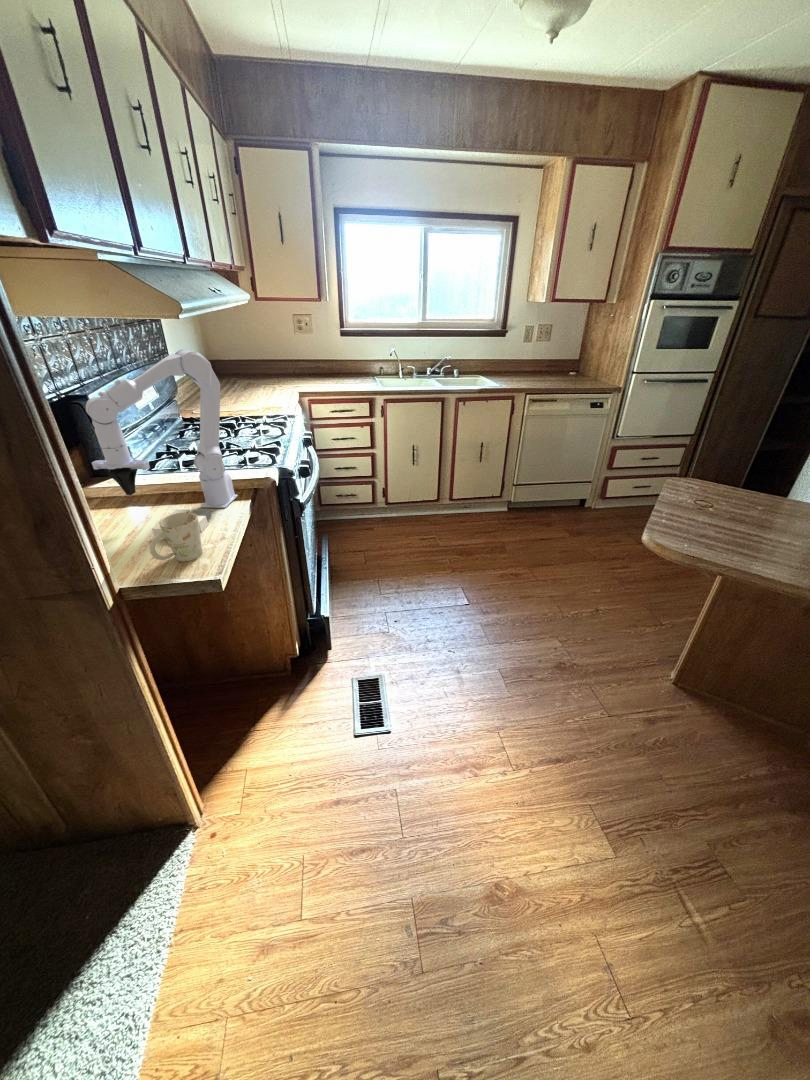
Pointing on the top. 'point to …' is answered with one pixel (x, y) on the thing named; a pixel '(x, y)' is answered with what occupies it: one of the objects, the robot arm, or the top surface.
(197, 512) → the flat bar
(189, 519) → the mug
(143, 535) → the top surface
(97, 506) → the top surface
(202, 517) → the t block
